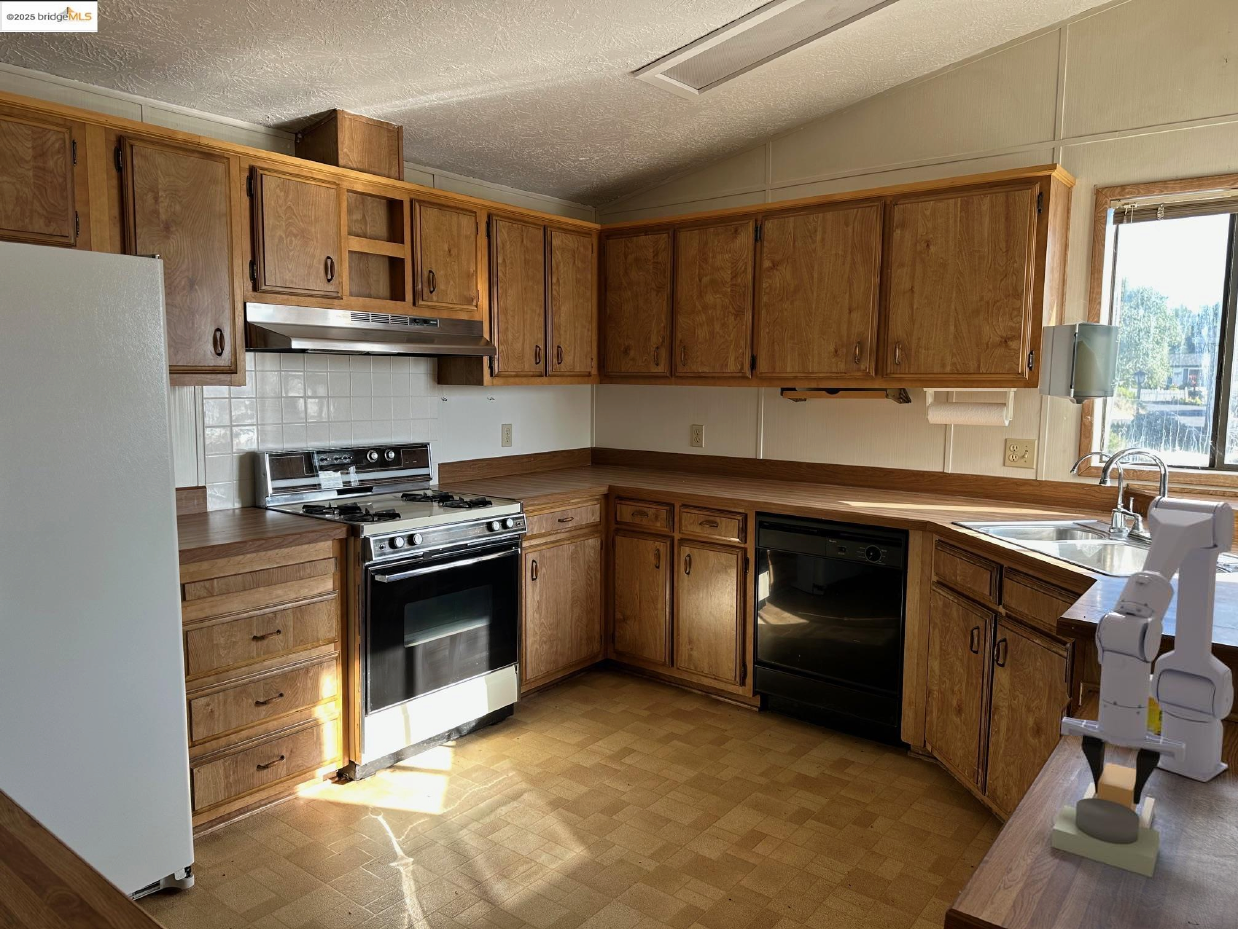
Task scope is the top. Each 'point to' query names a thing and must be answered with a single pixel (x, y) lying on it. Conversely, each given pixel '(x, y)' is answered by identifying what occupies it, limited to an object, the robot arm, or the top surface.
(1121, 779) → the chute block
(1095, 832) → the green base with dome
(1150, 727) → the supplement bottle
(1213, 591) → the robot arm
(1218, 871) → the top surface
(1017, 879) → the top surface
